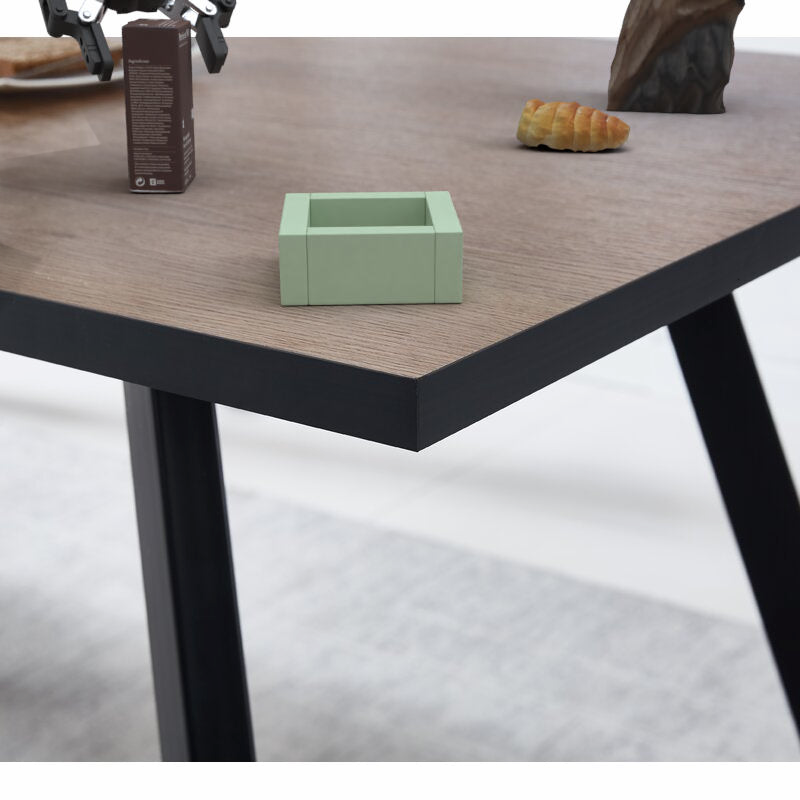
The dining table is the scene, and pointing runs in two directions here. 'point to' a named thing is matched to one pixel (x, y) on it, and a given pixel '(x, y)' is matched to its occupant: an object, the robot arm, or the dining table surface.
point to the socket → (370, 248)
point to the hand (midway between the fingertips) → (163, 70)
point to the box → (158, 104)
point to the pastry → (570, 127)
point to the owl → (674, 56)
